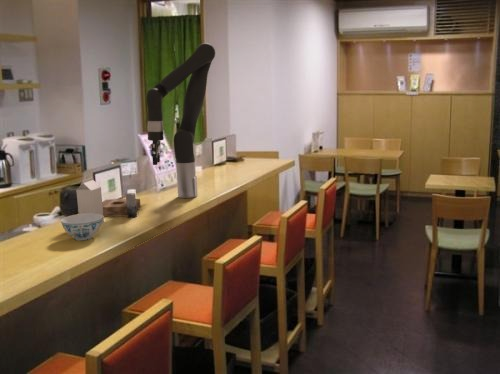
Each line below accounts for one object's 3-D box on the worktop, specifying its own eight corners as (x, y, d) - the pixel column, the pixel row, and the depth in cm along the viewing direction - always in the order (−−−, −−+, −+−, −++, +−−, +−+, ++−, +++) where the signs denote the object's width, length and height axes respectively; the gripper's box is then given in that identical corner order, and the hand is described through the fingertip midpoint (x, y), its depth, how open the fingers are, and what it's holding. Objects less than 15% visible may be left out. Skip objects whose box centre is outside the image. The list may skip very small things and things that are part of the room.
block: (140, 207, 269) (139, 198, 268) (131, 215, 253) (130, 206, 253) (106, 207, 270) (105, 199, 269) (95, 216, 254) (94, 207, 254)
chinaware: (93, 243, 212) (91, 223, 211) (55, 243, 215) (53, 223, 213) (110, 232, 227) (108, 213, 225) (74, 232, 229) (72, 213, 228)
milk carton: (104, 222, 244) (100, 177, 240) (94, 226, 237) (90, 180, 233) (89, 221, 246) (85, 177, 242) (79, 225, 239) (75, 180, 236)
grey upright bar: (138, 215, 253) (136, 193, 251) (135, 217, 249) (133, 194, 247) (128, 215, 253) (127, 193, 251) (126, 218, 249) (124, 195, 248)
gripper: (161, 131, 274) (162, 165, 277) (165, 128, 288) (166, 161, 291) (145, 131, 273) (146, 165, 277) (149, 128, 287) (150, 161, 291)
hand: (156, 163), depth 284 cm, fingers open, 8 cm apart
